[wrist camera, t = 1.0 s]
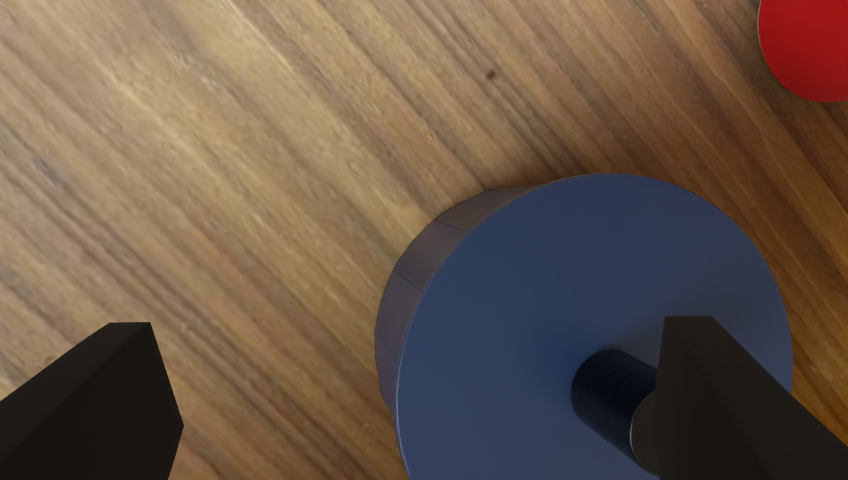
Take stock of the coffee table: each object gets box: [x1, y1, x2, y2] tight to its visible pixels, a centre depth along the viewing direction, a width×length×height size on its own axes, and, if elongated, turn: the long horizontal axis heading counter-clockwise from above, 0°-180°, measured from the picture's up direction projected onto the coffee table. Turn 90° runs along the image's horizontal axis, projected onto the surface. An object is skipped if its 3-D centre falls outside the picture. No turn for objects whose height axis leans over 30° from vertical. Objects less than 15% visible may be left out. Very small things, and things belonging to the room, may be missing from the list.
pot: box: [374, 184, 542, 417], centre depth 25 cm, size 12×12×6 cm
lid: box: [393, 173, 793, 480], centre depth 20 cm, size 13×13×5 cm
